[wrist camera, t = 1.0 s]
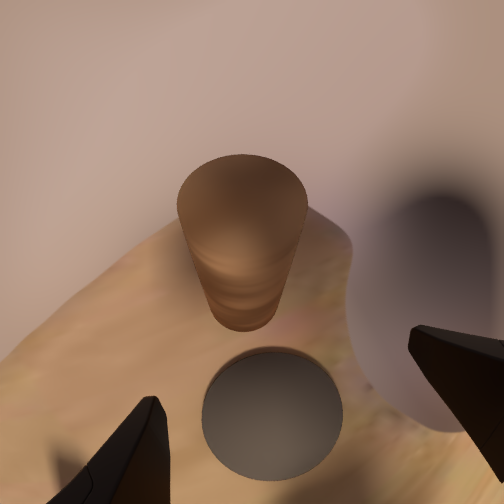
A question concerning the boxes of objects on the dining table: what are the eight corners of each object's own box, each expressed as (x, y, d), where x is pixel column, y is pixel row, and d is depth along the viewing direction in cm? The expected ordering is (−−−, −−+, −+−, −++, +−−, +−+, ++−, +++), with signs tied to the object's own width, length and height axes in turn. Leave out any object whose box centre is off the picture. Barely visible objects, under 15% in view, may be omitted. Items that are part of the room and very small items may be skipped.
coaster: (363, 395, 19) (366, 395, 19) (288, 498, 14) (289, 501, 14) (257, 328, 22) (257, 326, 22) (175, 428, 18) (173, 429, 17)
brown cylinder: (291, 291, 24) (329, 188, 13) (251, 345, 21) (258, 281, 10) (236, 256, 26) (231, 141, 14) (195, 304, 23) (151, 208, 12)
